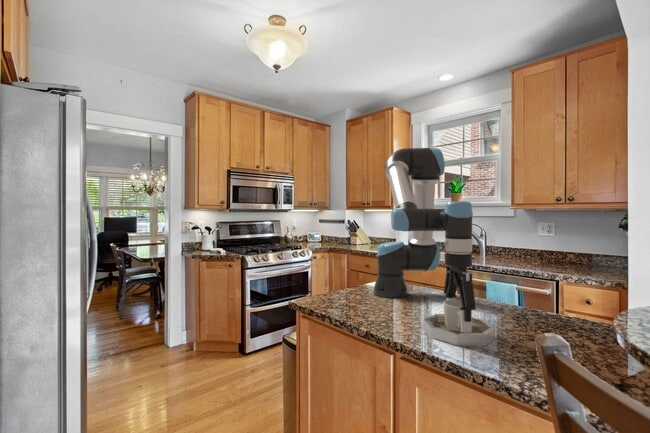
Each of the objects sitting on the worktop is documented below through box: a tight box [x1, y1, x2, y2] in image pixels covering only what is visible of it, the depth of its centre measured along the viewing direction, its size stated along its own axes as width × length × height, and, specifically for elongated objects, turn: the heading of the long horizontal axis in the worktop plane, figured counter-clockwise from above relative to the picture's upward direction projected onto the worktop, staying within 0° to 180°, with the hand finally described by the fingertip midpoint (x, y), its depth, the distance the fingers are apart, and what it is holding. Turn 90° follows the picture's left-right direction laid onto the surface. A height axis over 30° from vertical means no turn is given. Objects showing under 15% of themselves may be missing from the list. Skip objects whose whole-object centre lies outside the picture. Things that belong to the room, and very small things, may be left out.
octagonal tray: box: [423, 313, 496, 347], centre depth 97 cm, size 18×18×3 cm
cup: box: [442, 299, 462, 332], centre depth 98 cm, size 11×8×8 cm
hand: (458, 325), depth 98 cm, fingers open, 11 cm apart
